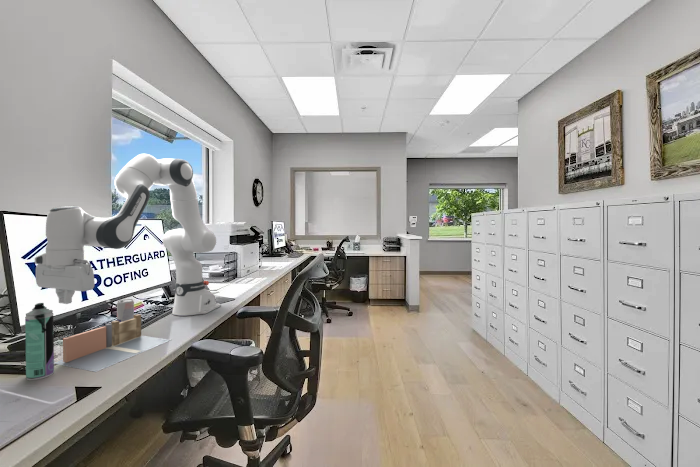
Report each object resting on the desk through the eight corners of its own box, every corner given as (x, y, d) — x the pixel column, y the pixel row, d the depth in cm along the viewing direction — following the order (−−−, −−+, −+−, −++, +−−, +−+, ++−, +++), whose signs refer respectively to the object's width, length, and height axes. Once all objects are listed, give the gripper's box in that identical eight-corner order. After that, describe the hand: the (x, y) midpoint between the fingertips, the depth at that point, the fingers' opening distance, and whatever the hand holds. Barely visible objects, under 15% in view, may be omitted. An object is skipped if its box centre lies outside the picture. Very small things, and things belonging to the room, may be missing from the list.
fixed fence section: (137, 335, 118) (137, 314, 118) (141, 336, 118) (141, 314, 118) (111, 345, 109) (111, 321, 109) (114, 345, 109) (114, 322, 108)
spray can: (58, 373, 89) (57, 302, 89) (34, 382, 84) (32, 307, 83) (46, 370, 91) (45, 300, 90) (21, 379, 86) (20, 304, 85)
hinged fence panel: (109, 345, 108) (109, 323, 108) (113, 345, 108) (113, 323, 108) (62, 361, 95) (62, 337, 95) (66, 362, 95) (66, 337, 94)
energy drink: (122, 329, 126) (122, 298, 126) (137, 329, 126) (136, 298, 126) (113, 334, 121) (113, 302, 120) (128, 334, 121) (128, 302, 121)
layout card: (132, 335, 120) (132, 333, 120) (171, 341, 115) (171, 339, 115) (50, 364, 95) (50, 362, 95) (95, 373, 90) (95, 371, 90)
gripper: (100, 259, 99) (100, 303, 100) (54, 256, 105) (54, 298, 105) (78, 261, 93) (78, 308, 93) (30, 257, 99) (30, 302, 99)
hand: (65, 303), depth 99 cm, fingers closed
